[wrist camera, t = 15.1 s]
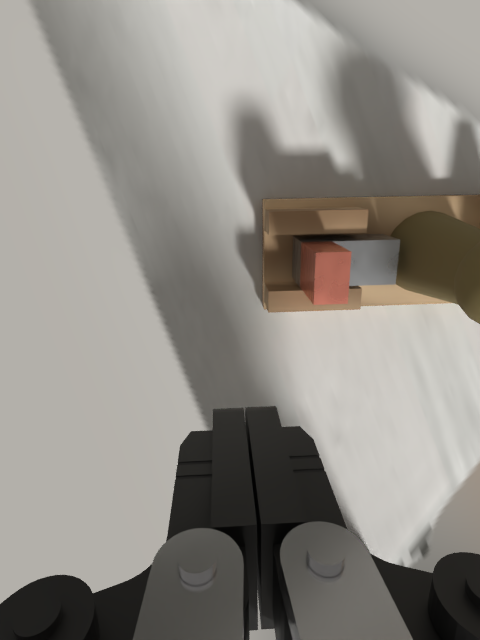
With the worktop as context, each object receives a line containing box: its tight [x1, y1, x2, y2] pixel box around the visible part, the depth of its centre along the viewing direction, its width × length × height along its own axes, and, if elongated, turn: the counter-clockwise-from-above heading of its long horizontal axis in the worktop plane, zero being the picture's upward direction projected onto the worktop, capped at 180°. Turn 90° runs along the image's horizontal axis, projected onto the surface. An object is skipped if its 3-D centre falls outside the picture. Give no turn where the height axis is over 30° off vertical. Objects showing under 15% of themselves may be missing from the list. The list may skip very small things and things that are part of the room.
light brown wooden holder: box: [263, 195, 480, 312], centre depth 29 cm, size 8×17×5 cm, turn 91°
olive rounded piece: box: [391, 211, 480, 324], centre depth 25 cm, size 6×6×11 cm
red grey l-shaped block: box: [292, 234, 400, 305], centre depth 26 cm, size 3×6×7 cm, turn 91°
